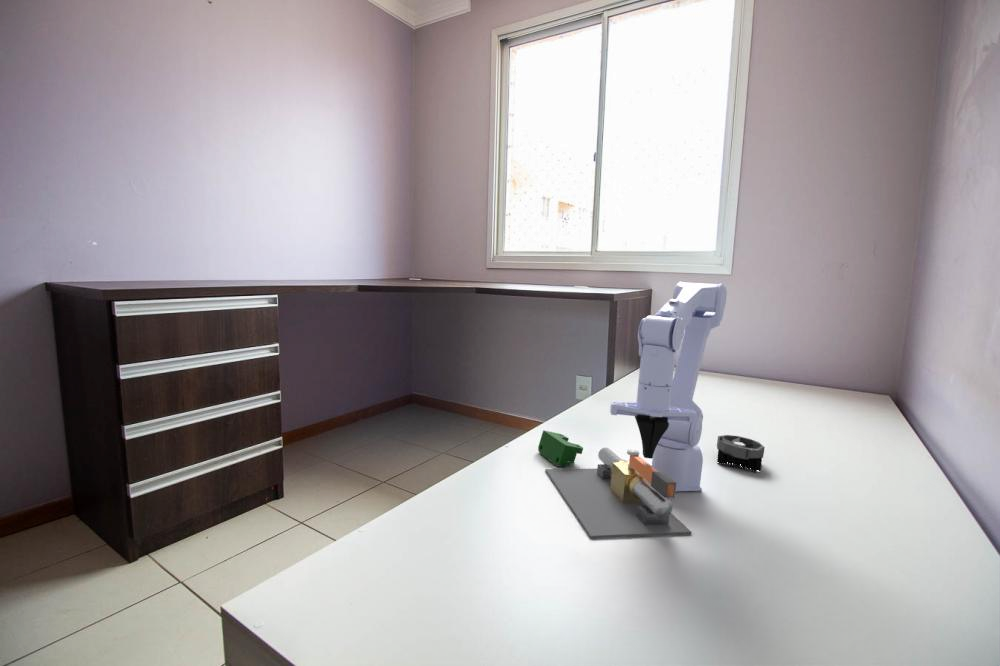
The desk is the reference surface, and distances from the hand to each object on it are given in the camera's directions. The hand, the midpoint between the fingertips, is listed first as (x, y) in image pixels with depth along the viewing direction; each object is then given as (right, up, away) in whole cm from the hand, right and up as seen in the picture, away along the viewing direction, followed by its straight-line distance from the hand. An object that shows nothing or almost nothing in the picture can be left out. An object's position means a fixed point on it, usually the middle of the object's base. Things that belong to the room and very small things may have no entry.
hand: (647, 456), depth 83 cm
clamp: (-13, -7, +24) cm, 28 cm away
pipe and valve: (-2, -10, +5) cm, 11 cm away
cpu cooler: (+32, -10, +29) cm, 44 cm away
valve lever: (0, -4, -1) cm, 4 cm away
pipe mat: (-6, -10, +5) cm, 12 cm away
